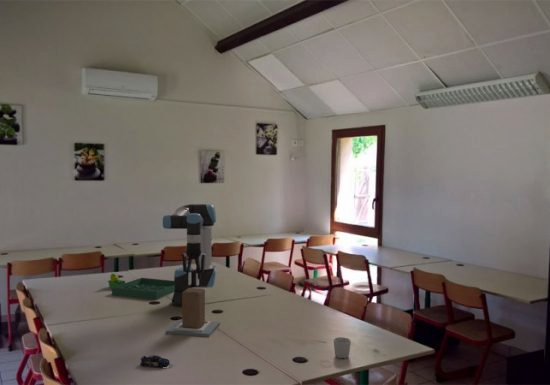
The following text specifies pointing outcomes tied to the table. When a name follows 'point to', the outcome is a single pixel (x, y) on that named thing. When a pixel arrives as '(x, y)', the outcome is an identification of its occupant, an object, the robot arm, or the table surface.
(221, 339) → the table surface
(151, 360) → the race car
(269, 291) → the table surface
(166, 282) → the maze
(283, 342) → the table surface
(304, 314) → the table surface
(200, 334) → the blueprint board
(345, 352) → the cup
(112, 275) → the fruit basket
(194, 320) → the wooden block
